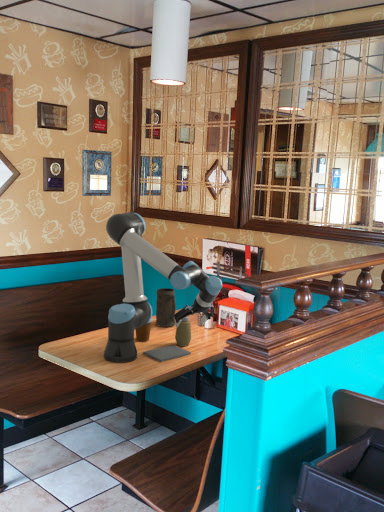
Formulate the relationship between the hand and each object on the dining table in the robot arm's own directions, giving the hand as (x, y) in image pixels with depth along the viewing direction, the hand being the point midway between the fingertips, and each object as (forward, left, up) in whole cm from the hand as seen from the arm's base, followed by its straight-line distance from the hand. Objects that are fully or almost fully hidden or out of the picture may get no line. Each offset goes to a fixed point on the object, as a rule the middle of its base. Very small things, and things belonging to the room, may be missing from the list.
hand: (189, 323), depth 257 cm
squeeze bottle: (0, +4, -12) cm, 13 cm away
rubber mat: (-15, -2, -12) cm, 19 cm away
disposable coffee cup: (-12, +21, -12) cm, 27 cm away
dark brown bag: (+14, +33, -12) cm, 38 cm away
